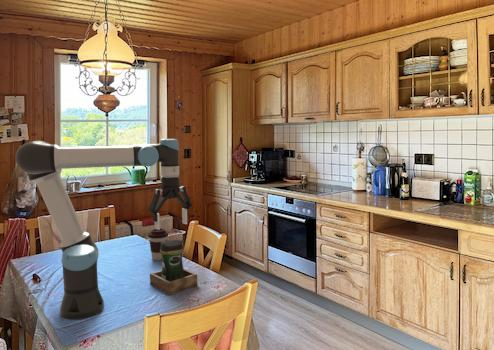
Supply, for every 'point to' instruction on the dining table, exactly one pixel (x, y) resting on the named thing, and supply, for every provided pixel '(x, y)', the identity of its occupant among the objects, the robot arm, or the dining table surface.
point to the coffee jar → (172, 260)
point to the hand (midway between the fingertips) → (171, 226)
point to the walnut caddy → (173, 282)
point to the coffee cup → (157, 242)
